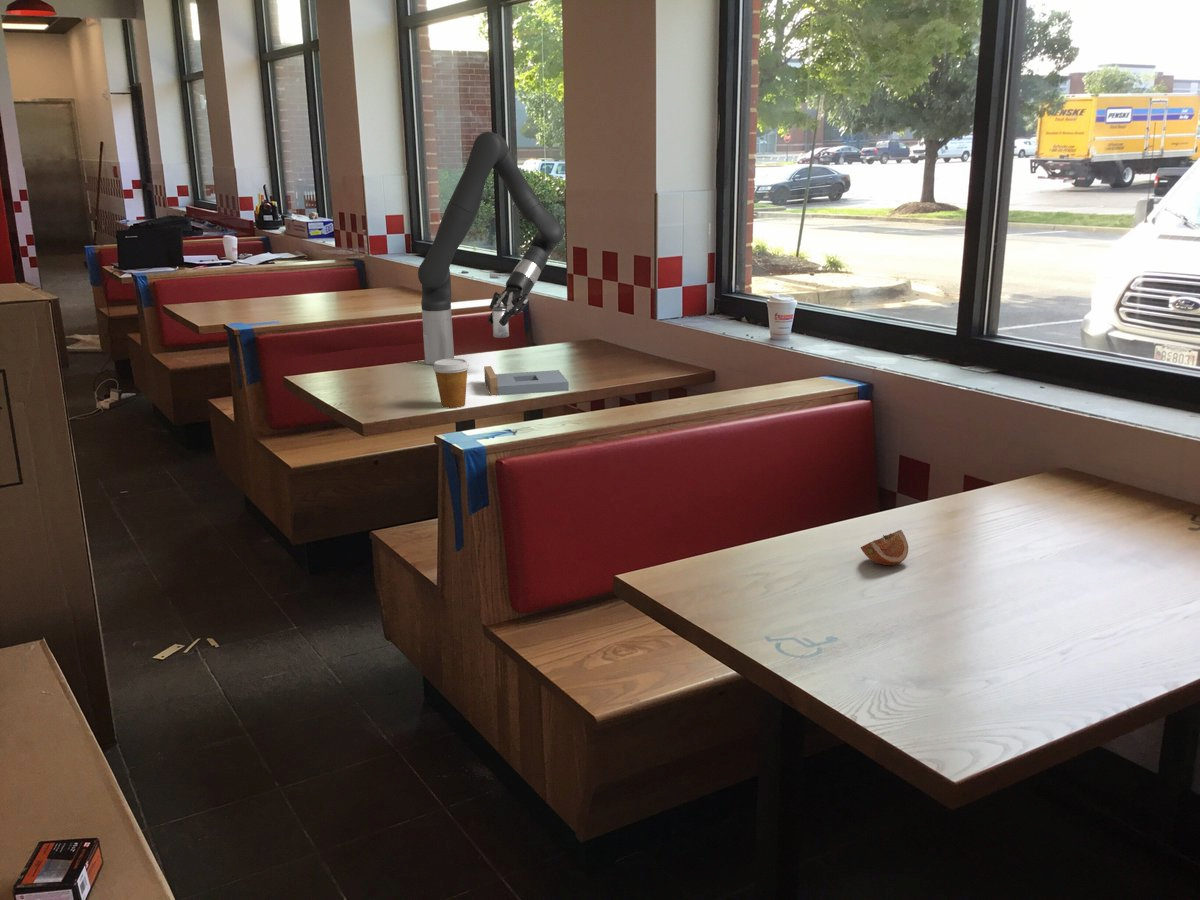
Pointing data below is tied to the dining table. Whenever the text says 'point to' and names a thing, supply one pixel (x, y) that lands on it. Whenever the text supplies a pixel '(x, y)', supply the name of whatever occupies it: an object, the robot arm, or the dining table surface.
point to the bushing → (498, 329)
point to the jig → (524, 382)
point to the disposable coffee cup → (451, 381)
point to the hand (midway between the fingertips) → (495, 323)
